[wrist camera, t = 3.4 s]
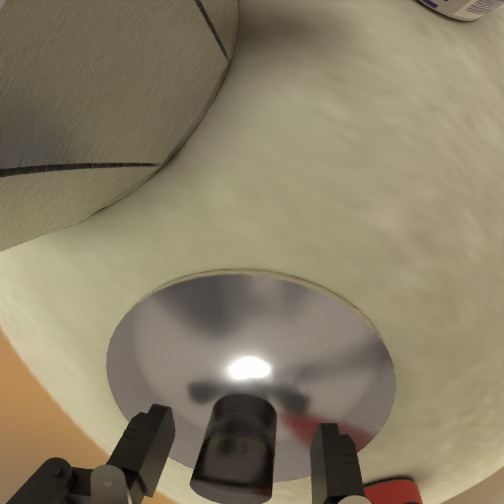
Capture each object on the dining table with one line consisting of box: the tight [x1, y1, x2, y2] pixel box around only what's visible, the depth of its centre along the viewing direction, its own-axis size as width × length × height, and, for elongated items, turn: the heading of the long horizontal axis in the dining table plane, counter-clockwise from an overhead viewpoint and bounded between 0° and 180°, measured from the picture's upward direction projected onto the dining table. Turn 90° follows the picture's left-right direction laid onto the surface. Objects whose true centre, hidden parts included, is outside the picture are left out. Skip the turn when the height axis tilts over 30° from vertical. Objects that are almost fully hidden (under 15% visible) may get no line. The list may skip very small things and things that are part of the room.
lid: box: [107, 269, 395, 504], centre depth 10 cm, size 13×13×5 cm
